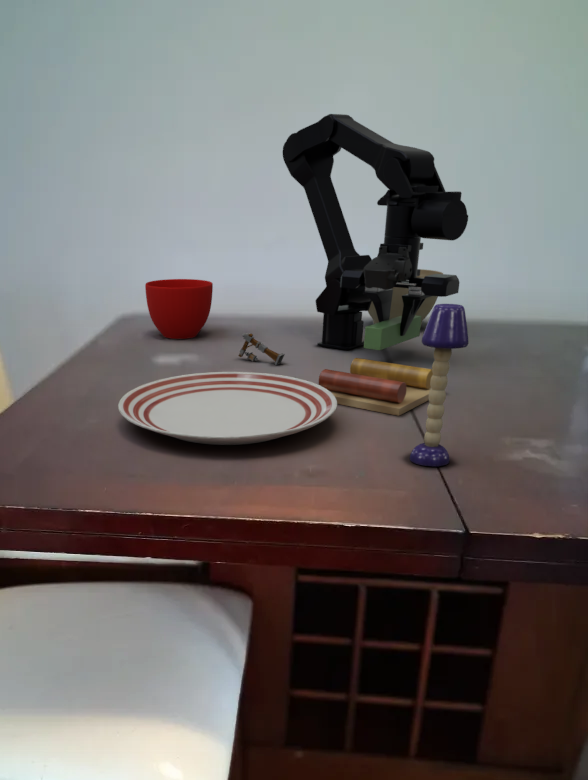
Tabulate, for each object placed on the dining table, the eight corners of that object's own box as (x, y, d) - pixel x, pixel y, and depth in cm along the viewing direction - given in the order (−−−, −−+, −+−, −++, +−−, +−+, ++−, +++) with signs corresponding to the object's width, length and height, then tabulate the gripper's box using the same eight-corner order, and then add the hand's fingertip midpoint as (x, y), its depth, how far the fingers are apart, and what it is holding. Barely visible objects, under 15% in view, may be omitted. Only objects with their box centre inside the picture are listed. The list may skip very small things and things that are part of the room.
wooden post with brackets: (237, 352, 128) (247, 328, 126) (274, 375, 126) (285, 352, 124) (232, 354, 127) (242, 330, 124) (269, 378, 125) (280, 354, 122)
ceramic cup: (235, 330, 151) (235, 279, 147) (189, 345, 138) (188, 289, 134) (182, 324, 158) (181, 275, 154) (133, 337, 145) (131, 284, 141)
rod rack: (307, 398, 105) (308, 371, 104) (355, 378, 115) (357, 354, 113) (398, 415, 97) (401, 387, 95) (442, 393, 107) (445, 367, 105)
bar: (363, 348, 122) (365, 326, 120) (403, 334, 132) (405, 314, 131) (380, 350, 120) (382, 328, 119) (419, 336, 131) (421, 315, 129)
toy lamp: (402, 453, 84) (419, 301, 77) (442, 451, 84) (462, 301, 78) (417, 468, 80) (435, 309, 73) (459, 466, 80) (481, 308, 73)
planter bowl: (376, 317, 164) (380, 266, 159) (448, 325, 155) (455, 271, 151) (343, 329, 152) (347, 273, 147) (419, 338, 143) (426, 279, 139)
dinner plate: (273, 476, 78) (274, 446, 76) (74, 433, 91) (71, 407, 90) (368, 411, 99) (370, 387, 97) (195, 384, 112) (195, 362, 111)
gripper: (326, 237, 119) (320, 335, 125) (437, 242, 108) (425, 349, 115) (359, 233, 127) (352, 325, 133) (466, 238, 116) (453, 338, 123)
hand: (393, 334), depth 126 cm, fingers closed on bar, 3 cm apart
